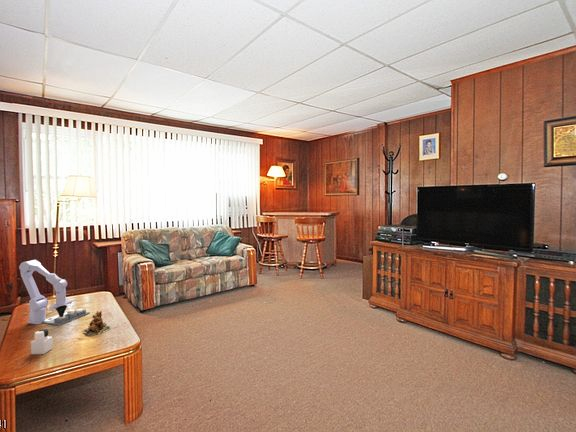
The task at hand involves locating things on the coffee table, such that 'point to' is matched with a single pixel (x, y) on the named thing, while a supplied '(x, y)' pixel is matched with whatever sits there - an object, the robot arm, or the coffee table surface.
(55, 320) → the console
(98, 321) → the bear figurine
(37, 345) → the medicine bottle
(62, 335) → the coffee table surface
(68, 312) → the button middle
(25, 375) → the coffee table surface
